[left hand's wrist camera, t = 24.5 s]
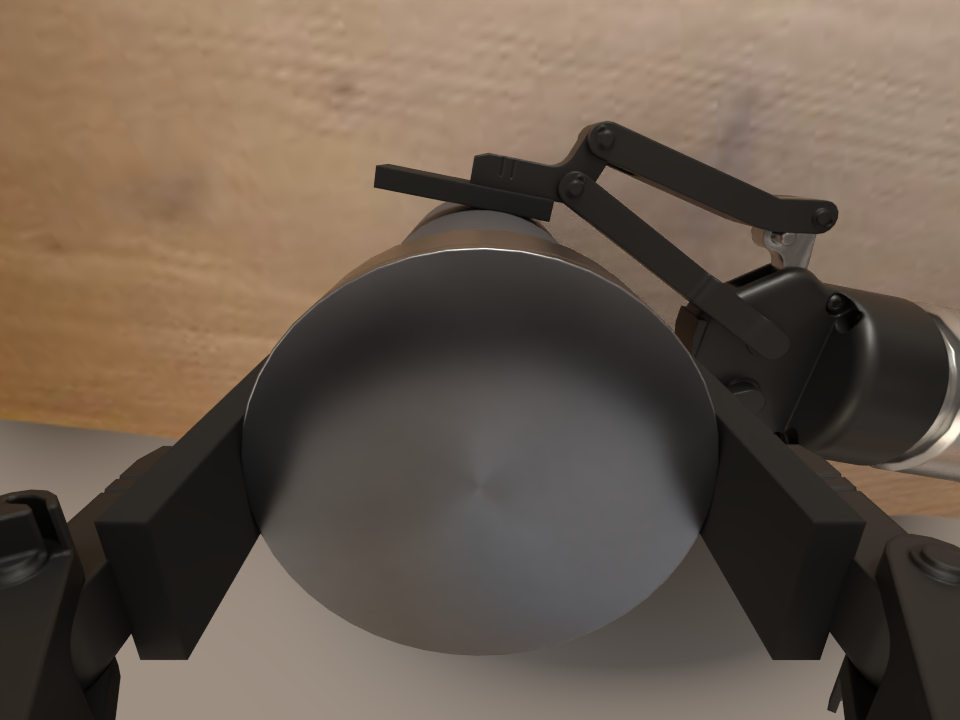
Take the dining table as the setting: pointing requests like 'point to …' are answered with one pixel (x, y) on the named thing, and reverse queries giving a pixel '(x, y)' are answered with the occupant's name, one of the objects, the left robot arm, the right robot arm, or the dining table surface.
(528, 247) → the lid
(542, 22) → the dining table surface
